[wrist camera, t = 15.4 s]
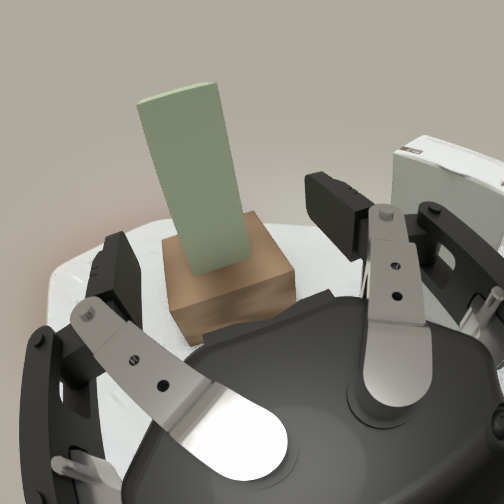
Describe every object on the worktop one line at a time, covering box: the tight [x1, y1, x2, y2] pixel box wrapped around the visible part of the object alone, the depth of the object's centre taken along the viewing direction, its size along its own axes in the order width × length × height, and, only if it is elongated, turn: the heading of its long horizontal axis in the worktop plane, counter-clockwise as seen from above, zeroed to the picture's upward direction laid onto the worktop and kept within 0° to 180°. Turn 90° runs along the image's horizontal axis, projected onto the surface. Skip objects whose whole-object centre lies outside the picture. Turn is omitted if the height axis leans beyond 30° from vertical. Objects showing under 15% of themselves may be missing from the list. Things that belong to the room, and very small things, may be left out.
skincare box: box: [391, 135, 504, 331], centre depth 17 cm, size 8×6×15 cm
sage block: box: [137, 82, 252, 277], centre depth 20 cm, size 5×5×14 cm
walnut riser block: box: [162, 211, 296, 347], centre depth 26 cm, size 10×10×5 cm
